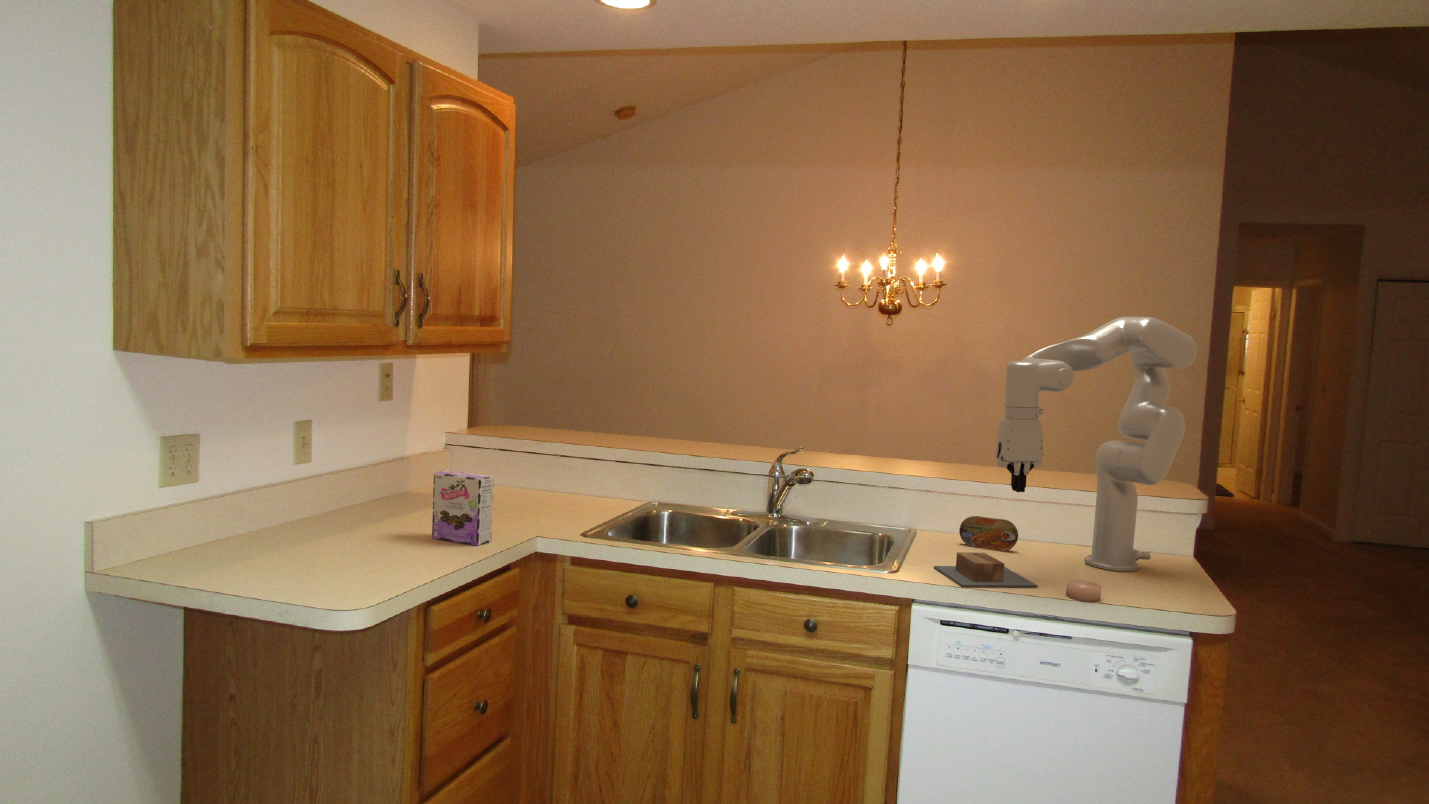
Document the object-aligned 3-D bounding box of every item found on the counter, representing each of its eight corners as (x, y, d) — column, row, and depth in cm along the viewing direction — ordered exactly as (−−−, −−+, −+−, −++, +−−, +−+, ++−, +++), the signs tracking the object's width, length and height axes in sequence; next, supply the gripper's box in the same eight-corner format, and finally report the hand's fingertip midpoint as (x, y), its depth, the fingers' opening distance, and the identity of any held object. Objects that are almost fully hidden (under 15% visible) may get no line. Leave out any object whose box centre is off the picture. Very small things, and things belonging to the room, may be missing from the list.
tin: (957, 545, 248) (960, 514, 248) (960, 543, 251) (962, 512, 251) (1015, 554, 242) (1018, 522, 241) (1018, 551, 244) (1020, 520, 244)
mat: (1003, 568, 225) (1004, 566, 225) (1037, 587, 209) (1037, 585, 209) (933, 568, 222) (933, 565, 222) (962, 587, 206) (962, 584, 206)
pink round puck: (1089, 593, 207) (1090, 580, 207) (1106, 602, 200) (1107, 589, 200) (1060, 593, 206) (1061, 579, 206) (1075, 602, 199) (1076, 588, 199)
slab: (984, 552, 220) (956, 552, 219) (1004, 563, 210) (975, 563, 209) (983, 569, 221) (955, 569, 219) (1003, 581, 211) (974, 581, 210)
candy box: (430, 538, 225) (432, 472, 224) (446, 534, 231) (448, 469, 230) (477, 546, 220) (479, 478, 219) (492, 541, 226) (494, 474, 224)
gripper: (1042, 411, 221) (1039, 487, 223) (984, 412, 219) (981, 488, 221) (1059, 415, 214) (1056, 493, 216) (998, 416, 212) (996, 495, 214)
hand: (1018, 490), depth 218 cm, fingers closed
